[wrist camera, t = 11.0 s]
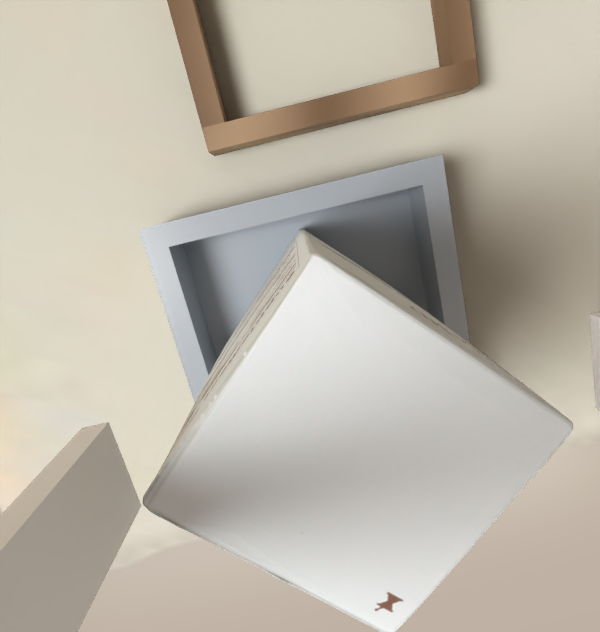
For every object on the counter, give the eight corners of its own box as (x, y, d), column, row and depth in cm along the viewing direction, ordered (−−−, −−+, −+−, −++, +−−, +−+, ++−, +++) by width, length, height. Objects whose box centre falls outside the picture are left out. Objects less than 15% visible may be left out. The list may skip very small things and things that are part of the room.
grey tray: (421, 161, 21) (442, 154, 18) (459, 404, 24) (483, 432, 21) (159, 226, 21) (138, 229, 18) (231, 456, 24) (223, 490, 21)
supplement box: (422, 305, 22) (594, 432, 9) (337, 417, 23) (391, 654, 11) (301, 220, 21) (317, 241, 8) (219, 344, 22) (130, 517, 10)
